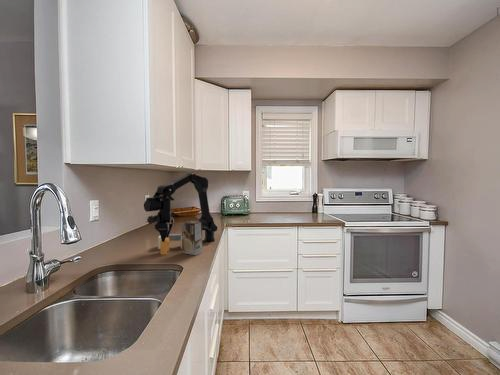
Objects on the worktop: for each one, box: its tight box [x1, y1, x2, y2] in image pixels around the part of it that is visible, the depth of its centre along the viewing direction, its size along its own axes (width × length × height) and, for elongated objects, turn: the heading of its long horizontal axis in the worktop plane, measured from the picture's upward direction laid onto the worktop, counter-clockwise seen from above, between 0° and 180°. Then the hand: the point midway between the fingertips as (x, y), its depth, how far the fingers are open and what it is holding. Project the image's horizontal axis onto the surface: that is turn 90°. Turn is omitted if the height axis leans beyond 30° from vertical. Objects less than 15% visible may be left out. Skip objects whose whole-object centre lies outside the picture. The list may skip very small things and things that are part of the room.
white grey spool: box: [157, 233, 182, 250], centre depth 144 cm, size 16×7×7 cm, turn 97°
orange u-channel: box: [160, 238, 170, 256], centre depth 134 cm, size 7×3×7 cm, turn 7°
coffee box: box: [181, 220, 203, 256], centre depth 134 cm, size 9×6×16 cm
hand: (165, 239), depth 134 cm, fingers open, 9 cm apart
